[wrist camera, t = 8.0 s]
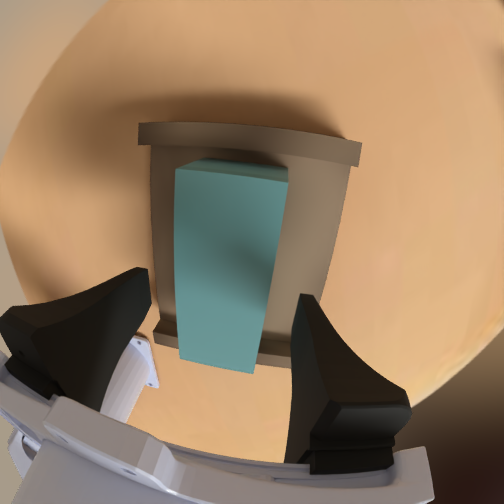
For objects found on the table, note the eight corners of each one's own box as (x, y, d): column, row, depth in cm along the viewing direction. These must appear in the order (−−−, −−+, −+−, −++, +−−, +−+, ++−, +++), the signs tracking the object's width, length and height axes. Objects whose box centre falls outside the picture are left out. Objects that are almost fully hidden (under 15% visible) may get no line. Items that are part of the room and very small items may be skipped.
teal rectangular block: (197, 318, 19) (179, 358, 15) (204, 157, 14) (175, 169, 10) (260, 330, 18) (253, 373, 15) (288, 168, 14) (288, 182, 10)
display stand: (170, 314, 22) (154, 343, 19) (166, 122, 15) (138, 123, 12) (303, 337, 21) (303, 369, 18) (346, 139, 14) (362, 142, 11)
